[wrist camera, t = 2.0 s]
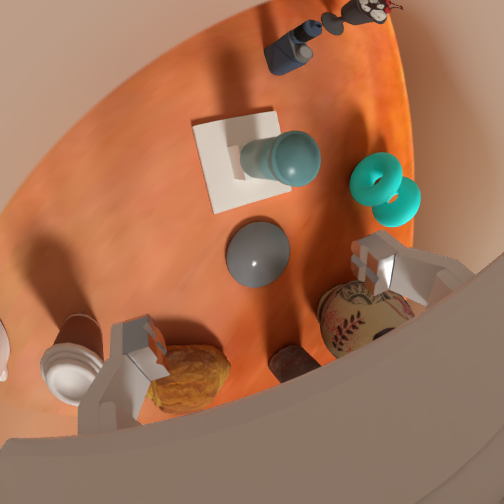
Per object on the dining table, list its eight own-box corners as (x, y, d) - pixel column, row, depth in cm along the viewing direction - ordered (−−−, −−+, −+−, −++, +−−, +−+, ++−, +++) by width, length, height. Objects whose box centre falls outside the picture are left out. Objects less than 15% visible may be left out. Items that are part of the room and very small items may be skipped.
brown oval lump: (135, 327, 41) (130, 355, 33) (231, 336, 45) (243, 364, 38) (135, 394, 43) (133, 426, 36) (219, 400, 48) (227, 430, 41)
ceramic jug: (376, 283, 56) (494, 348, 30) (337, 345, 57) (440, 430, 31) (328, 247, 48) (485, 324, 22) (281, 324, 49) (406, 442, 22)
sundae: (347, 44, 38) (411, 24, 25) (316, 30, 35) (380, 0, 22) (347, 18, 36) (407, -6, 23) (317, 4, 34) (376, -28, 21)
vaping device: (276, 46, 34) (324, 17, 24) (285, 75, 36) (336, 54, 26) (261, 47, 33) (306, 15, 23) (270, 77, 36) (319, 53, 25)
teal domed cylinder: (242, 185, 34) (278, 192, 26) (233, 142, 32) (267, 135, 24) (281, 175, 35) (324, 179, 28) (273, 134, 33) (315, 127, 25)
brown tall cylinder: (278, 338, 49) (346, 411, 32) (308, 342, 53) (376, 405, 35) (261, 372, 50) (319, 448, 33) (291, 373, 54) (351, 439, 36)
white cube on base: (212, 213, 38) (223, 219, 34) (191, 127, 34) (200, 121, 30) (289, 190, 42) (307, 193, 38) (273, 111, 37) (290, 106, 33)
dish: (235, 295, 43) (236, 297, 43) (218, 233, 39) (219, 235, 39) (291, 271, 46) (294, 273, 46) (281, 212, 42) (283, 213, 42)
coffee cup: (123, 333, 38) (125, 388, 27) (87, 366, 37) (83, 422, 26) (78, 292, 34) (62, 340, 23) (43, 329, 32) (24, 381, 22)
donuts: (360, 148, 45) (405, 149, 36) (389, 179, 50) (430, 186, 41) (336, 195, 46) (380, 204, 37) (368, 223, 50) (409, 236, 42)
